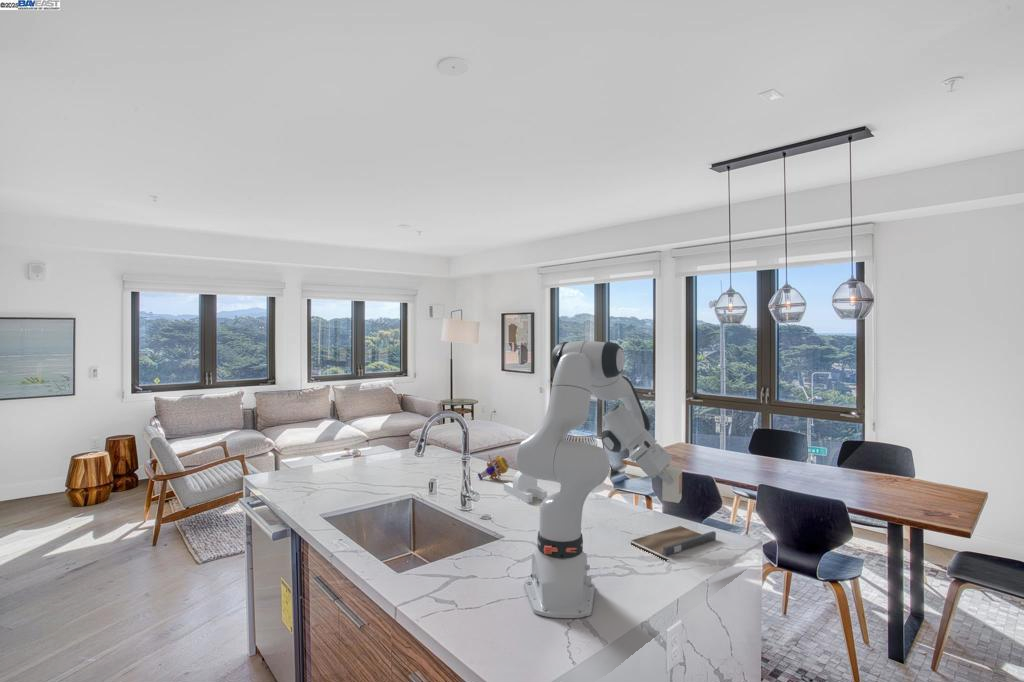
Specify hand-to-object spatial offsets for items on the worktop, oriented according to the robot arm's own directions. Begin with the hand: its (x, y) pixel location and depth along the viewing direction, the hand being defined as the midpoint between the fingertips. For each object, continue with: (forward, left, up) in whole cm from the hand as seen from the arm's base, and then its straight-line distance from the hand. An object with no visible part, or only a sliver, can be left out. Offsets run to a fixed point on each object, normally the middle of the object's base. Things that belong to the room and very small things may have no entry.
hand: (673, 480), depth 161 cm
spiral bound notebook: (+2, -1, -21) cm, 22 cm away
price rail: (-3, -5, -20) cm, 21 cm away
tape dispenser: (+50, +47, -22) cm, 72 cm away
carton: (0, 0, -6) cm, 6 cm away
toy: (+73, +62, -22) cm, 98 cm away
